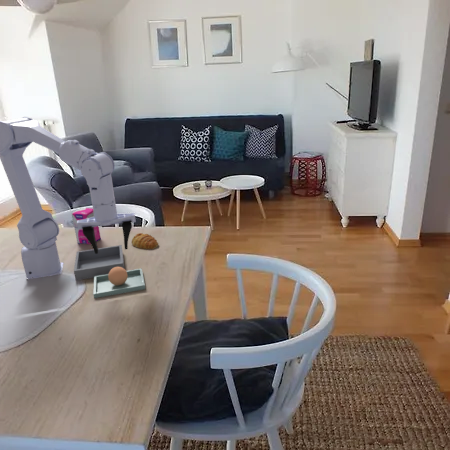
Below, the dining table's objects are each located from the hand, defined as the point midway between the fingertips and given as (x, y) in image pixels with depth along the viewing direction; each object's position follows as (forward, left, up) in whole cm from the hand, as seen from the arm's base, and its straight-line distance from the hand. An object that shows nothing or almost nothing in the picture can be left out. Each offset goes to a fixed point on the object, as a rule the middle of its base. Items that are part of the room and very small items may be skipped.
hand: (111, 250), depth 110 cm
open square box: (-4, +11, -10) cm, 15 cm away
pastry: (+10, +22, -10) cm, 26 cm away
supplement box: (-8, +33, -10) cm, 35 cm away
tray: (+1, -3, -10) cm, 10 cm away
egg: (+1, -3, -9) cm, 10 cm away
